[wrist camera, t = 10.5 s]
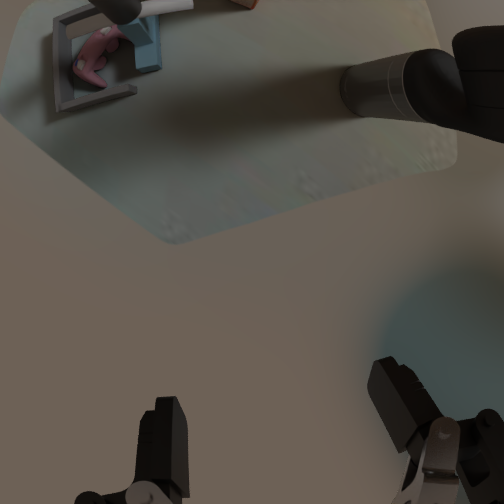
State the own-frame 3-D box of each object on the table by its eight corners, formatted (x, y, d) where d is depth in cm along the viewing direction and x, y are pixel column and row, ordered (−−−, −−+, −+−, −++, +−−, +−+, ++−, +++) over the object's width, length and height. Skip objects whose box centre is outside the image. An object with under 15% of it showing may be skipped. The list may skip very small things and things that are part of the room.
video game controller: (128, 32, 33) (102, 13, 27) (145, 39, 33) (118, 19, 26) (92, 82, 36) (62, 70, 29) (106, 92, 35) (75, 79, 29)
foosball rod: (195, 6, 32) (184, -106, 7) (199, 63, 36) (187, -17, 11) (105, 25, 30) (10, -44, 6) (107, 81, 35) (-6, 52, 10)
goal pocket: (132, 4, 30) (124, -7, 25) (137, 93, 37) (128, 90, 32) (66, 25, 29) (53, 18, 24) (70, 112, 36) (56, 112, 31)
